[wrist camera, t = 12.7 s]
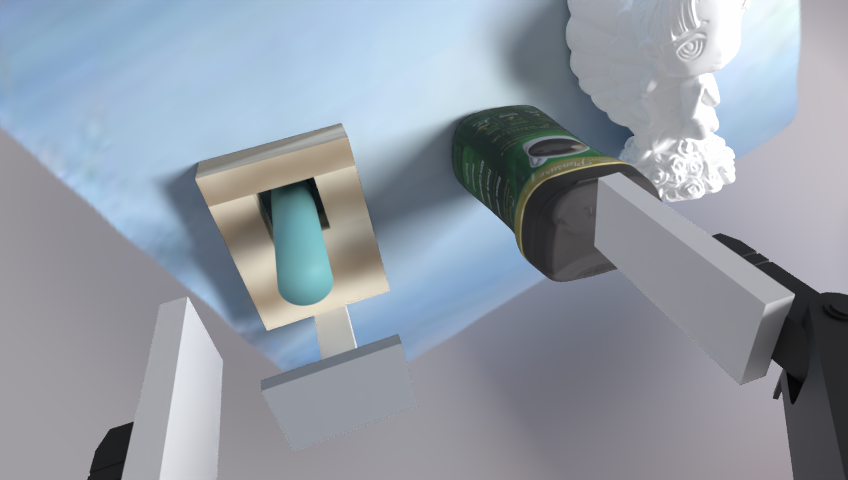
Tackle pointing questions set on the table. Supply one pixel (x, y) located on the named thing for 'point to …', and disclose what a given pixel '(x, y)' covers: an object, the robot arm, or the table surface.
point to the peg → (299, 246)
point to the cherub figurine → (660, 83)
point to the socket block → (340, 222)
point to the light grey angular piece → (340, 385)
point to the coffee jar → (539, 186)
